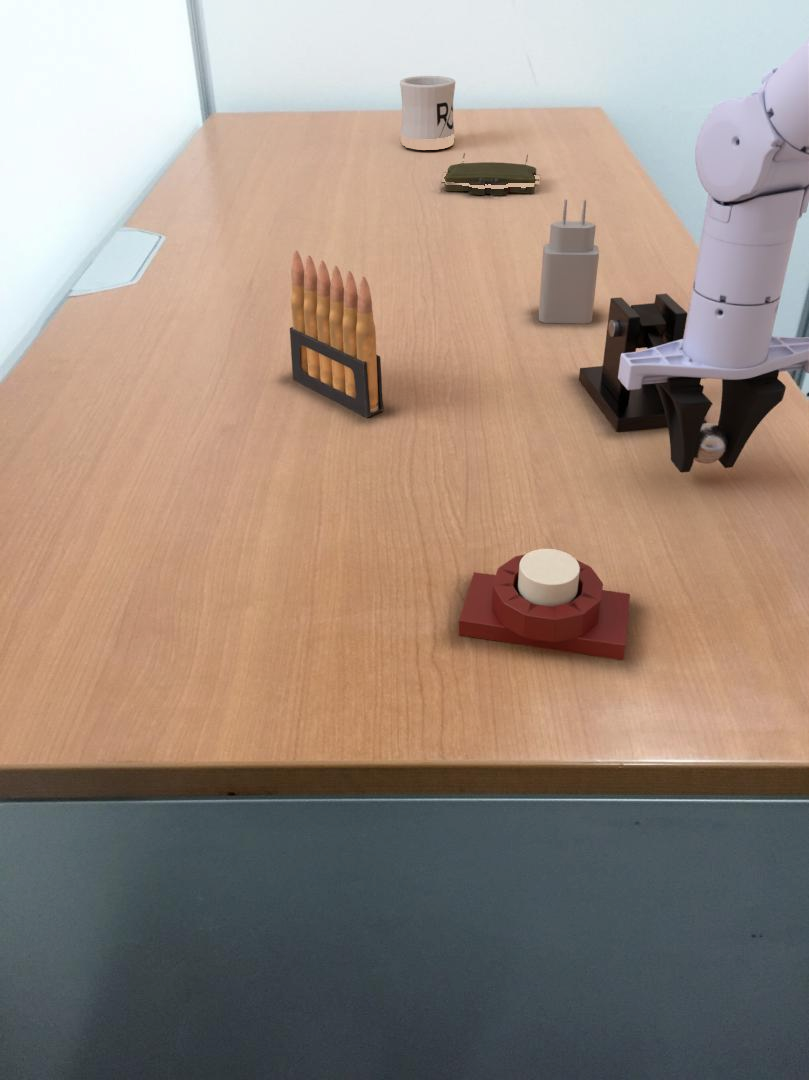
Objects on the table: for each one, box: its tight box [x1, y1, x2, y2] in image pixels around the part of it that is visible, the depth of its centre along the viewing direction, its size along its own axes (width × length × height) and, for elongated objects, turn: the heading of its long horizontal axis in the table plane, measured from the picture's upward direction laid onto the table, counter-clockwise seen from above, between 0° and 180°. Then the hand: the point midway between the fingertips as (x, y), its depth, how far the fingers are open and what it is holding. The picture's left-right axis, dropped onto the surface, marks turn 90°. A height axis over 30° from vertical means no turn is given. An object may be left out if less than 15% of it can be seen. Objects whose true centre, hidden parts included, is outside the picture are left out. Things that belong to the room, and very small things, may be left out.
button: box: [518, 548, 580, 607], centre depth 58 cm, size 4×4×2 cm
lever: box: [630, 302, 728, 465], centre depth 75 cm, size 17×3×3 cm, turn 10°
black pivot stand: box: [578, 293, 688, 433], centre depth 81 cm, size 10×7×9 cm
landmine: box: [440, 152, 539, 197], centre depth 140 cm, size 14×3×15 cm
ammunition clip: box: [289, 250, 384, 419], centre depth 82 cm, size 11×2×12 cm, turn 43°
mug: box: [399, 75, 456, 139], centre depth 157 cm, size 12×9×10 cm
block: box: [458, 553, 631, 661], centre depth 59 cm, size 10×6×3 cm, turn 76°
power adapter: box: [538, 198, 600, 325], centre depth 96 cm, size 3×5×12 cm, turn 85°
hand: (702, 463), depth 72 cm, fingers closed on lever, 3 cm apart
